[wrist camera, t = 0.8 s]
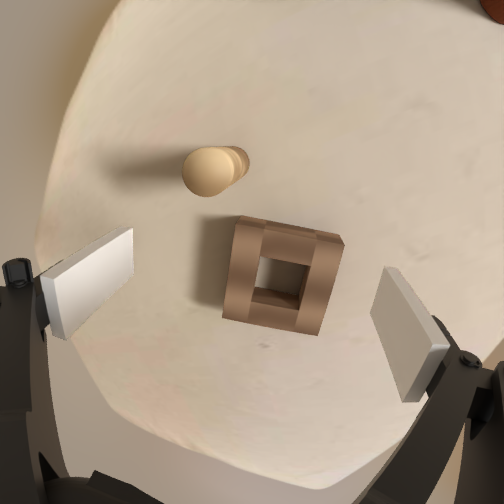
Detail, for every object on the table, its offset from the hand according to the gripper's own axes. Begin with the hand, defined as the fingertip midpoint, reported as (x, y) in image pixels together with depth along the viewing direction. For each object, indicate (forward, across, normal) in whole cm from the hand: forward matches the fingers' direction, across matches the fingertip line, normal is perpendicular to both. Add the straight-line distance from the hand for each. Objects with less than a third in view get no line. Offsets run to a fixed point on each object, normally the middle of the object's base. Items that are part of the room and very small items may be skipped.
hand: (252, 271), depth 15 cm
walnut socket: (+22, +2, -9) cm, 24 cm away
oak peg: (+22, -5, +3) cm, 23 cm away
